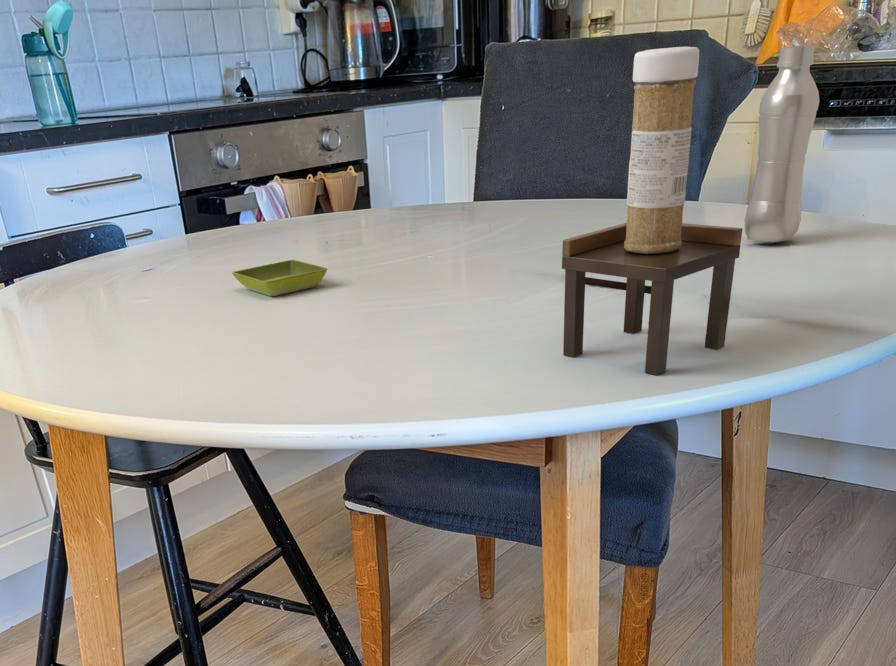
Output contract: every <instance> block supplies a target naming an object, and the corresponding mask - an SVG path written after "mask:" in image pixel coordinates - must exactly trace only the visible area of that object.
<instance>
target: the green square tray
mask: <svg viewBox="0 0 896 666" xmlns="http://www.w3.org/2000/svg"><path fill="white" fill-rule="evenodd" d="M327 271H328V268H327V267H325V266H320V265H317V264H313V263H309V262H304V261H301V260H297V259H288V260H283V261H277V262H273V263H269V264H262V265H259V266H253V267H248V268H244V269H238V270H235V271H234V270H233V271H232V272H231V274H232V275H233V277H234V278H235V279H236V280H237V281H238V282H239V283H240V284H241V285H242V286H243V287H245V288H246V289H247V290H250V291H253V292H256V293H259V294H262V295H265V296H268V297H276V296H281V295H286V294H290V293H294V292H299V291H303V290H307V289H313V288H316V287H317V286H318V285H319V283H321V281H322V280H323V279H324V277H325V276H326V274H327Z"/></svg>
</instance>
